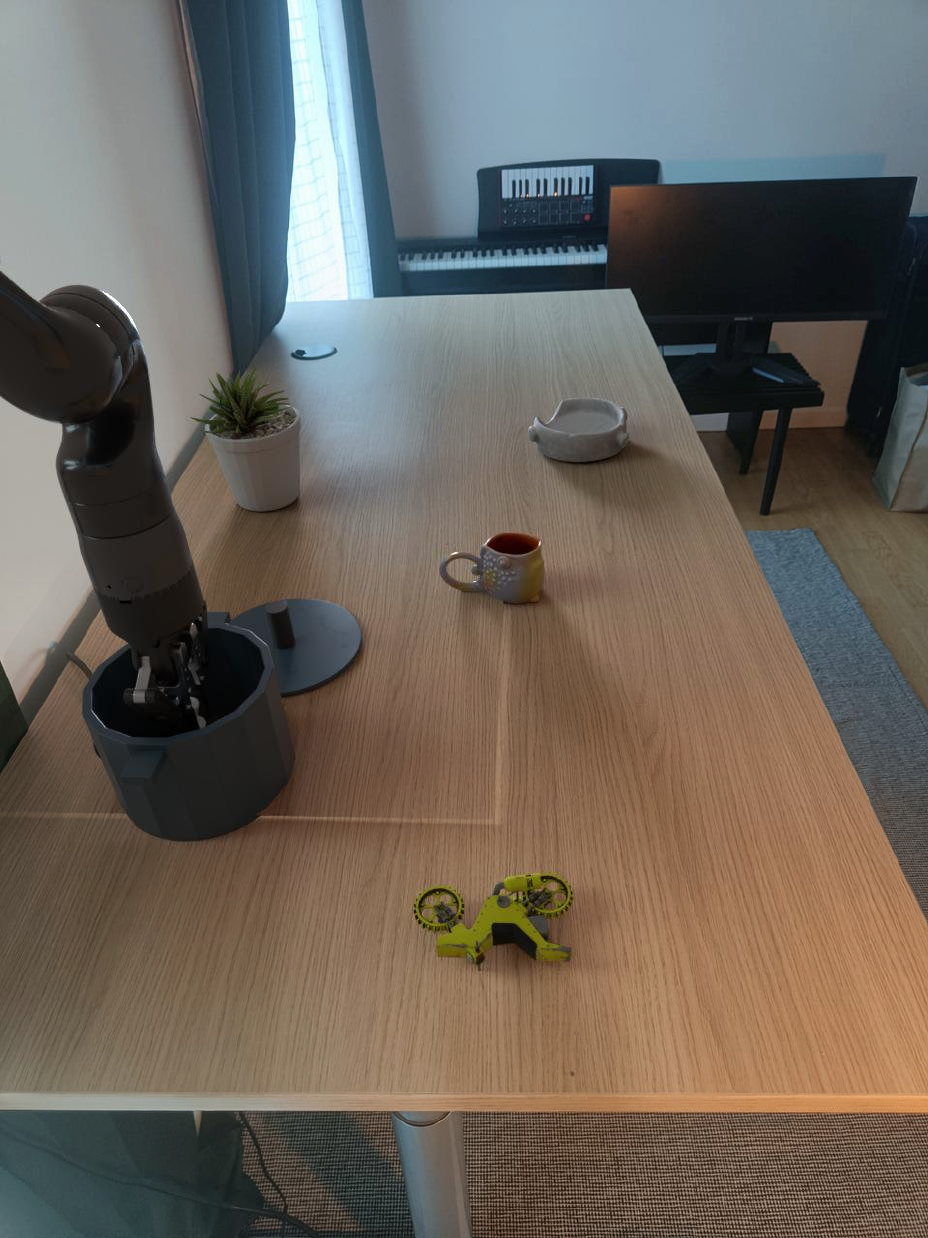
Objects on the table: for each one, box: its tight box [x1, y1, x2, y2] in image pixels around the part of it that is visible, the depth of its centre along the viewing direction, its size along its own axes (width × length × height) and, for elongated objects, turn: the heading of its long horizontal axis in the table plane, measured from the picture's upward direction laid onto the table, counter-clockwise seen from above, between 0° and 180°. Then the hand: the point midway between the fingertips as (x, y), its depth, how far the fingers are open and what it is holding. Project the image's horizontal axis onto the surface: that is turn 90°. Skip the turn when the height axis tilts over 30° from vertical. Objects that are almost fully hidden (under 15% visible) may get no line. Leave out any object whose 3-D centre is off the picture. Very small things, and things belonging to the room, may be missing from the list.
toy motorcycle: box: [412, 871, 574, 972], centre depth 64 cm, size 12×4×7 cm
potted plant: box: [189, 366, 302, 513], centre depth 116 cm, size 13×14×20 cm
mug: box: [438, 531, 546, 605], centre depth 99 cm, size 12×7×7 cm, turn 90°
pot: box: [81, 611, 296, 842], centre depth 77 cm, size 16×21×12 cm
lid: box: [229, 597, 363, 698], centre depth 92 cm, size 17×17×6 cm
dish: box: [527, 397, 630, 463], centre depth 129 cm, size 14×14×5 cm
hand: (194, 729), depth 77 cm, fingers closed
